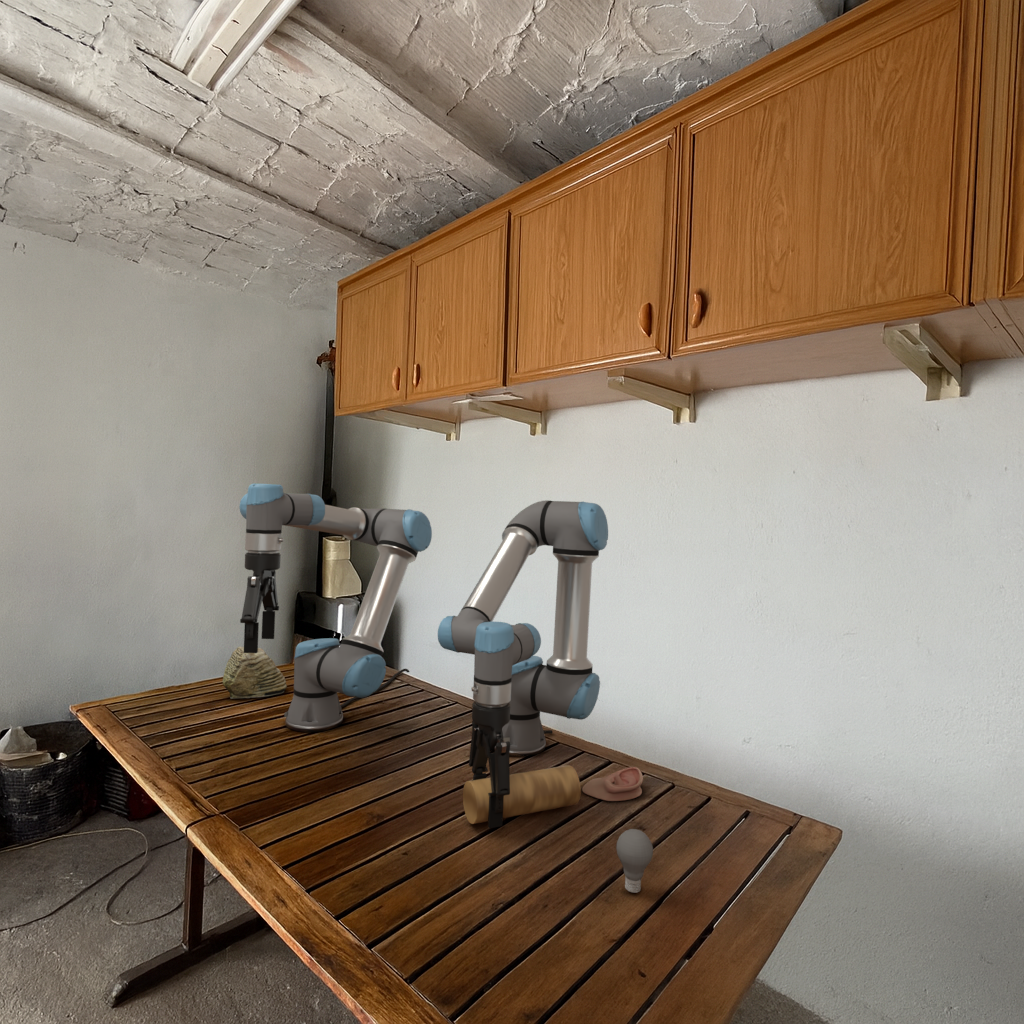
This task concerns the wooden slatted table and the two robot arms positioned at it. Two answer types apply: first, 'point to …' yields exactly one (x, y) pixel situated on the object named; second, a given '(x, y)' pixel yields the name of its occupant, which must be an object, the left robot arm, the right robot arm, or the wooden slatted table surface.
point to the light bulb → (634, 857)
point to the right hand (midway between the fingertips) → (486, 815)
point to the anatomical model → (616, 785)
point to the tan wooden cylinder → (524, 793)
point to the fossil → (252, 675)
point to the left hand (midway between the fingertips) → (259, 645)
